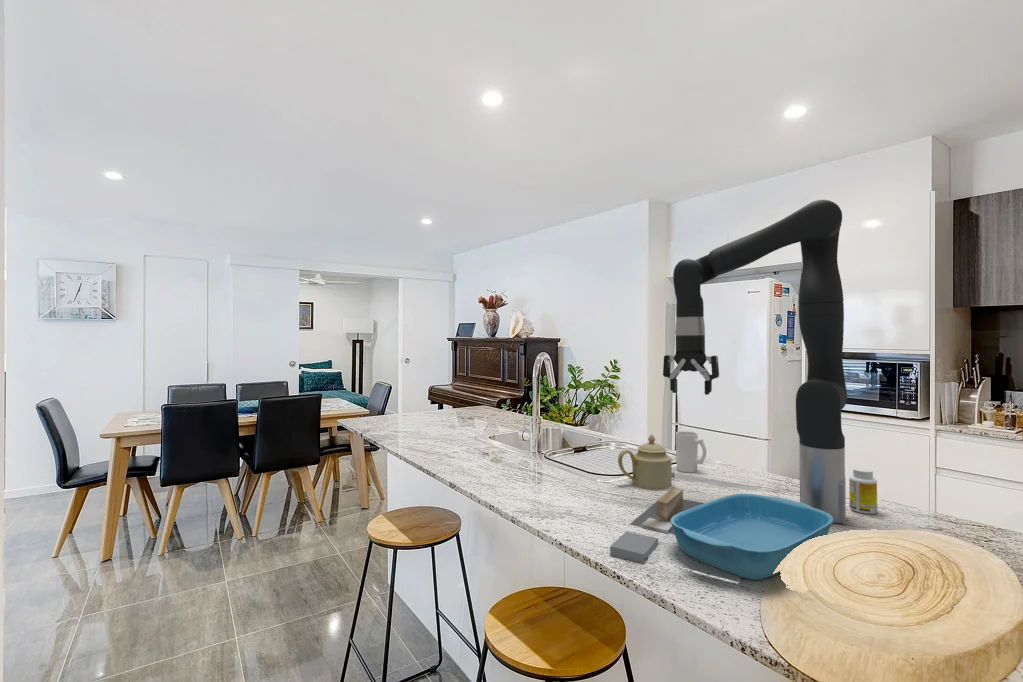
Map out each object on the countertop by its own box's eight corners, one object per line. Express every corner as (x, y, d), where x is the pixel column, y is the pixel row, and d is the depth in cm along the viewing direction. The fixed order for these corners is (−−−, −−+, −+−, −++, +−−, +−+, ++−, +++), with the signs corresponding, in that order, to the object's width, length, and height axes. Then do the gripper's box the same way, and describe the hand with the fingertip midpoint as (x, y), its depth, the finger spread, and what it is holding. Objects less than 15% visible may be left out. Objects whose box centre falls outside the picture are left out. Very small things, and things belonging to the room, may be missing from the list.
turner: (690, 510, 122) (689, 490, 122) (667, 533, 108) (667, 510, 108) (666, 505, 126) (666, 486, 126) (641, 527, 112) (641, 505, 112)
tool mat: (710, 506, 126) (710, 504, 126) (681, 538, 107) (681, 536, 107) (663, 497, 133) (663, 495, 133) (629, 526, 114) (629, 524, 114)
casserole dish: (745, 514, 121) (745, 485, 121) (849, 544, 103) (849, 510, 103) (650, 556, 99) (649, 521, 99) (761, 604, 81) (760, 561, 81)
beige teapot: (647, 496, 134) (646, 442, 134) (616, 487, 143) (615, 435, 143) (679, 486, 143) (679, 434, 143) (648, 477, 152) (647, 429, 152)
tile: (658, 538, 103) (644, 554, 95) (658, 548, 103) (644, 565, 96) (626, 531, 107) (610, 546, 99) (626, 541, 107) (610, 557, 99)
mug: (671, 469, 160) (671, 433, 160) (683, 466, 164) (683, 430, 164) (700, 476, 152) (700, 437, 152) (711, 472, 156) (711, 434, 156)
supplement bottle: (882, 512, 120) (882, 470, 120) (868, 516, 118) (868, 473, 118) (858, 505, 125) (857, 465, 125) (844, 509, 123) (844, 468, 123)
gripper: (721, 333, 132) (721, 393, 132) (668, 334, 141) (668, 390, 141) (714, 333, 126) (714, 396, 126) (659, 334, 134) (660, 393, 135)
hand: (690, 393), depth 134 cm, fingers open, 8 cm apart
